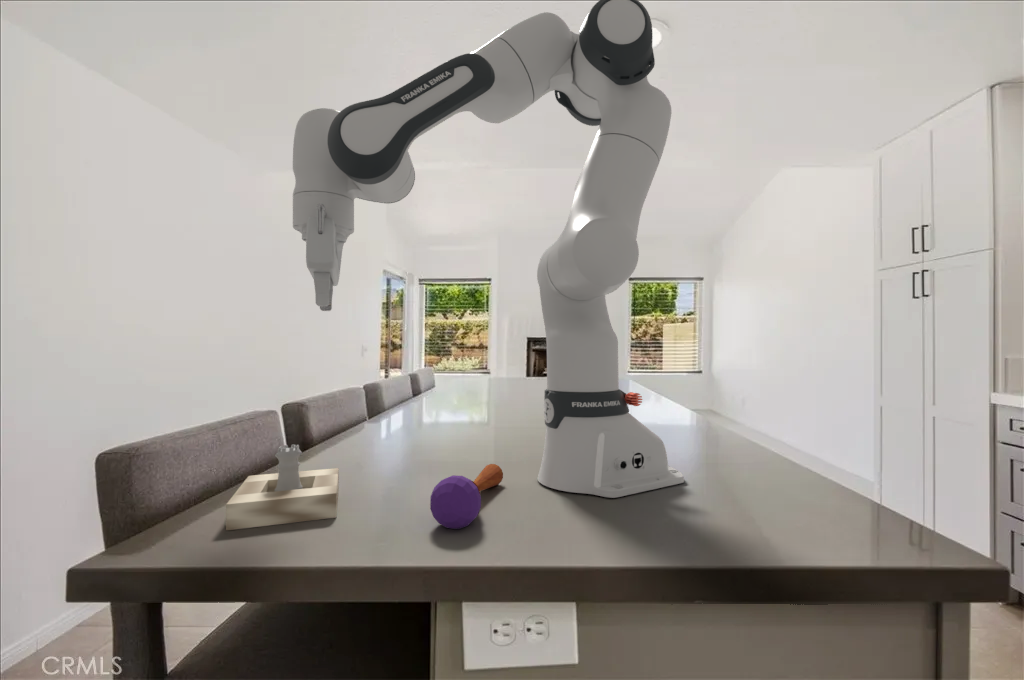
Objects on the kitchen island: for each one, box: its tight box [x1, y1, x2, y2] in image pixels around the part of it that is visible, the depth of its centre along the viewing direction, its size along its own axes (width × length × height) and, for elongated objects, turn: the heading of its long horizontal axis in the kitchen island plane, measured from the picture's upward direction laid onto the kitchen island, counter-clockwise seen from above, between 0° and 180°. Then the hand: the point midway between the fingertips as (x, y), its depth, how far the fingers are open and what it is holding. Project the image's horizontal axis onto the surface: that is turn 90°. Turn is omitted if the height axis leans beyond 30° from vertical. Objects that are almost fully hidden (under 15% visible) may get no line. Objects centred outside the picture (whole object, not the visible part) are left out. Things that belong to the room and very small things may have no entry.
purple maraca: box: [429, 463, 504, 530], centre depth 63 cm, size 6×6×20 cm
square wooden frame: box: [225, 467, 340, 531], centre depth 63 cm, size 12×13×3 cm
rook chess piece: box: [274, 444, 303, 491], centre depth 63 cm, size 4×4×8 cm
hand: (324, 308), depth 73 cm, fingers open, 8 cm apart
